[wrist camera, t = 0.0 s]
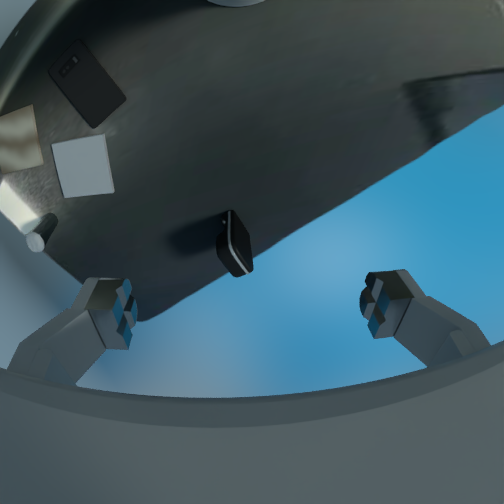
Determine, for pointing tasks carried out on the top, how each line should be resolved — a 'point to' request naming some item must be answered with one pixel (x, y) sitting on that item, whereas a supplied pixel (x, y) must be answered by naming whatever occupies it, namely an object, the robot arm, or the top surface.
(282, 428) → the robot arm
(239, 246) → the battery charger
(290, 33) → the top surface
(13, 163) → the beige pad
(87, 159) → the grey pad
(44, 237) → the milkshake
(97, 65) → the phone
